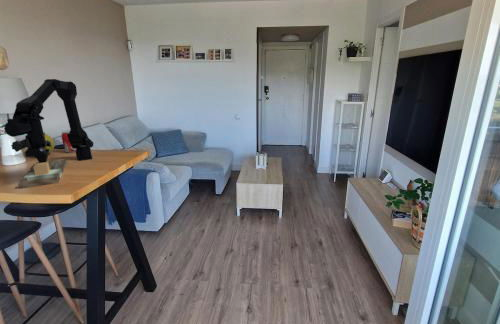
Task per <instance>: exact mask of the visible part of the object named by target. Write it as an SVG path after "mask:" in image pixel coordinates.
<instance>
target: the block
mask: <svg viewBox="0 0 500 324" xmlns="http://www.w3.org/2000/svg"><path fill="white" fill-rule="evenodd" d="M34 164H35V165H34V166H33V165H32V166H33V168H34V172H35V175H41V174H49V172H50V167H49V163H48V162H43V163H34Z"/></svg>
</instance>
